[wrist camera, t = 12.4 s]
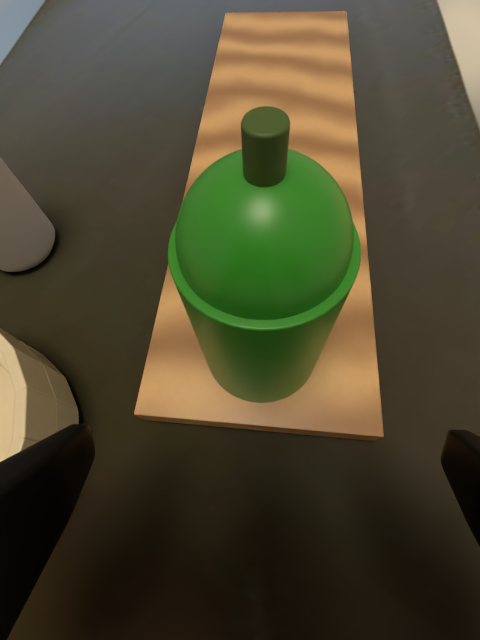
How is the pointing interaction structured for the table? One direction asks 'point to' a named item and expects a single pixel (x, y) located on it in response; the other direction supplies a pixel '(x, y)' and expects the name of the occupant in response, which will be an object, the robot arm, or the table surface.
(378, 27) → the table surface
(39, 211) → the beverage can
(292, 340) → the green spray can
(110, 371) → the table surface
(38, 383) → the bowl
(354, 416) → the cutting board
